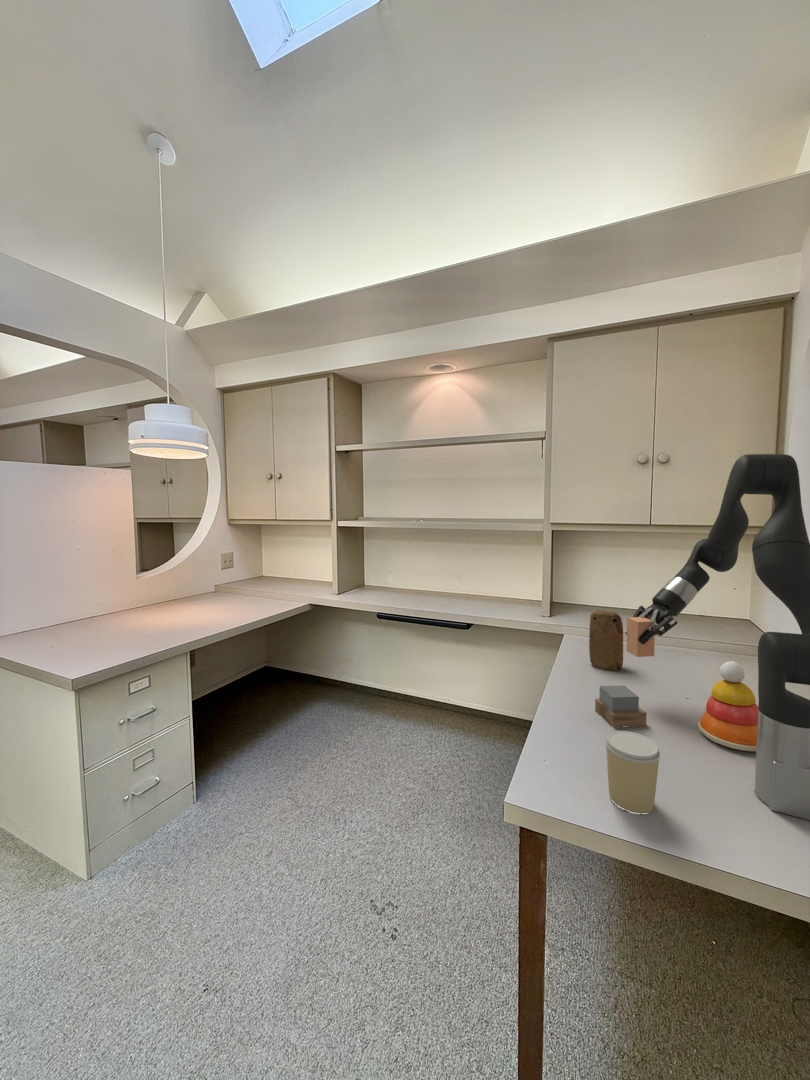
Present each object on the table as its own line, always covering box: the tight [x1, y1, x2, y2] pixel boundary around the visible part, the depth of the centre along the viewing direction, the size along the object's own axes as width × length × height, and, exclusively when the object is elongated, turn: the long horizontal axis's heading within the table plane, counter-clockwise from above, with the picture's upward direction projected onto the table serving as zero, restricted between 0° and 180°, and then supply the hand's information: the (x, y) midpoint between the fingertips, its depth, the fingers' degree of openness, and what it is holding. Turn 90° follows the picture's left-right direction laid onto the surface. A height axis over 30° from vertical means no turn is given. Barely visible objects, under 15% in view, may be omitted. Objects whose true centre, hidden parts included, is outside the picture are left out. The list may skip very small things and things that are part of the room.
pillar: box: [626, 616, 656, 658], centre depth 119 cm, size 5×5×10 cm
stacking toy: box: [697, 660, 758, 752], centre depth 101 cm, size 14×14×20 cm
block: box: [588, 609, 624, 671], centre depth 148 cm, size 11×8×20 cm
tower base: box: [594, 698, 647, 728], centre depth 113 cm, size 9×9×4 cm
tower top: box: [598, 685, 640, 712], centre depth 113 cm, size 7×7×4 cm
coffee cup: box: [605, 730, 661, 814], centre depth 81 cm, size 9×9×12 cm
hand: (634, 638), depth 119 cm, fingers closed on pillar, 5 cm apart
